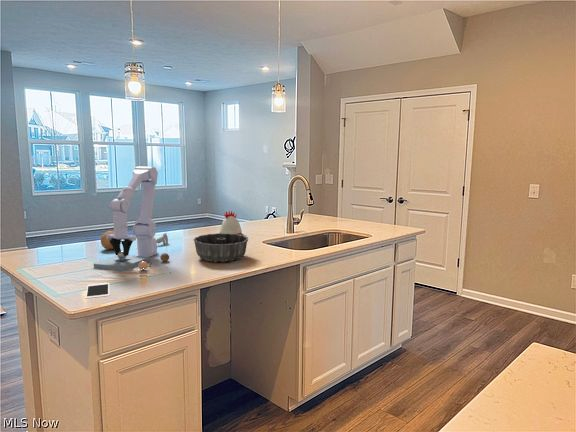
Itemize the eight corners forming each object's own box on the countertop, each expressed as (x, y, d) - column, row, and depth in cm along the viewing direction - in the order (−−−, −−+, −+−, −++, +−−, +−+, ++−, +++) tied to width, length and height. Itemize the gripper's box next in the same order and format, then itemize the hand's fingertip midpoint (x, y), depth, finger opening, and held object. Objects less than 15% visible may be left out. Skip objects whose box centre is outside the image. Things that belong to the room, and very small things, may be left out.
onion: (104, 252, 214) (103, 233, 213) (98, 249, 222) (97, 230, 220) (123, 249, 220) (122, 231, 219) (117, 246, 228) (116, 228, 226)
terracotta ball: (142, 268, 185) (142, 259, 184) (150, 269, 184) (149, 260, 183) (136, 271, 181) (136, 262, 180) (144, 272, 180) (144, 262, 179)
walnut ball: (163, 260, 200) (163, 251, 199) (171, 260, 199) (170, 252, 198) (158, 262, 196) (158, 253, 195) (166, 262, 195) (165, 254, 194)
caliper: (166, 243, 237) (166, 232, 236) (168, 243, 237) (167, 233, 236) (138, 250, 219) (137, 239, 218) (139, 251, 219) (139, 239, 218)
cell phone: (109, 283, 164) (109, 282, 164) (109, 296, 150) (109, 295, 150) (87, 286, 161) (87, 284, 161) (85, 299, 147) (85, 298, 147)
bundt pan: (259, 256, 209) (259, 236, 208) (225, 268, 187) (225, 246, 185) (218, 249, 223) (217, 231, 221) (182, 260, 200) (181, 239, 199)
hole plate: (121, 258, 202) (121, 254, 202) (149, 261, 198) (149, 257, 197) (93, 267, 185) (93, 263, 185) (123, 271, 181) (123, 266, 180)
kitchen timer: (217, 233, 268) (216, 210, 265) (237, 231, 273) (237, 209, 271) (223, 237, 255) (222, 213, 253) (244, 235, 261) (244, 211, 259)
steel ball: (122, 258, 194) (121, 250, 193) (129, 258, 192) (127, 249, 192) (116, 260, 190) (114, 252, 190) (123, 260, 188) (121, 251, 188)
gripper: (101, 226, 187) (102, 255, 189) (128, 228, 183) (129, 258, 185) (112, 223, 194) (113, 252, 196) (138, 225, 190) (139, 254, 192)
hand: (122, 255), depth 191 cm, fingers open, 4 cm apart
